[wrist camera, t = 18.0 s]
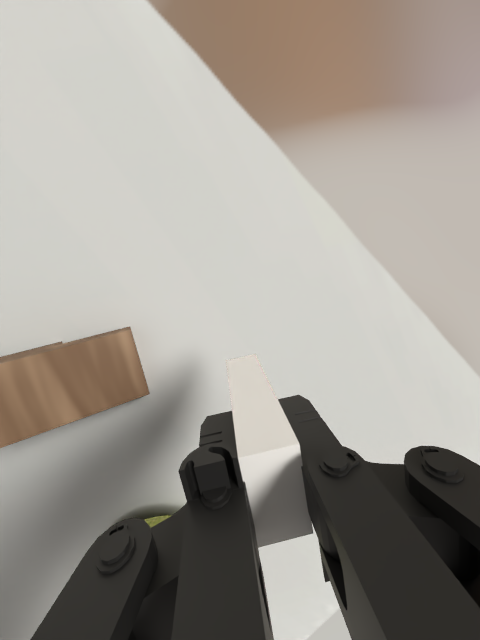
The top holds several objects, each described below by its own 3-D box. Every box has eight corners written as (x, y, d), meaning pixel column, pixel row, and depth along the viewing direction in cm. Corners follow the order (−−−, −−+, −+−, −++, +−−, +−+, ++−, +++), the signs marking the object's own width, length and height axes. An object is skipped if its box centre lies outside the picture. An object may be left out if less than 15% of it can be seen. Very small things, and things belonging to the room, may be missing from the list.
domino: (130, 329, 18) (-52, 377, 15) (149, 393, 19) (-16, 453, 16) (129, 326, 20) (-35, 368, 16) (147, 385, 21) (-3, 438, 17)
